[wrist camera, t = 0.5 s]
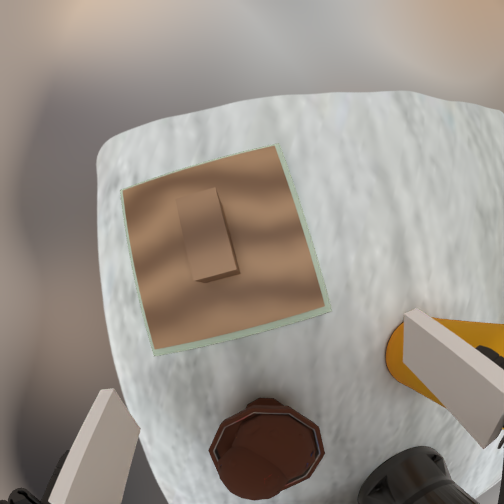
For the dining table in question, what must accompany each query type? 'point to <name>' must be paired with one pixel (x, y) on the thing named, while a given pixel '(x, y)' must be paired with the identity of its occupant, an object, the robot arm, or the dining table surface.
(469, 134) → the dining table surface
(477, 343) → the yellow bottle
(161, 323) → the walnut cover
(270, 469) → the ice cream bowl
